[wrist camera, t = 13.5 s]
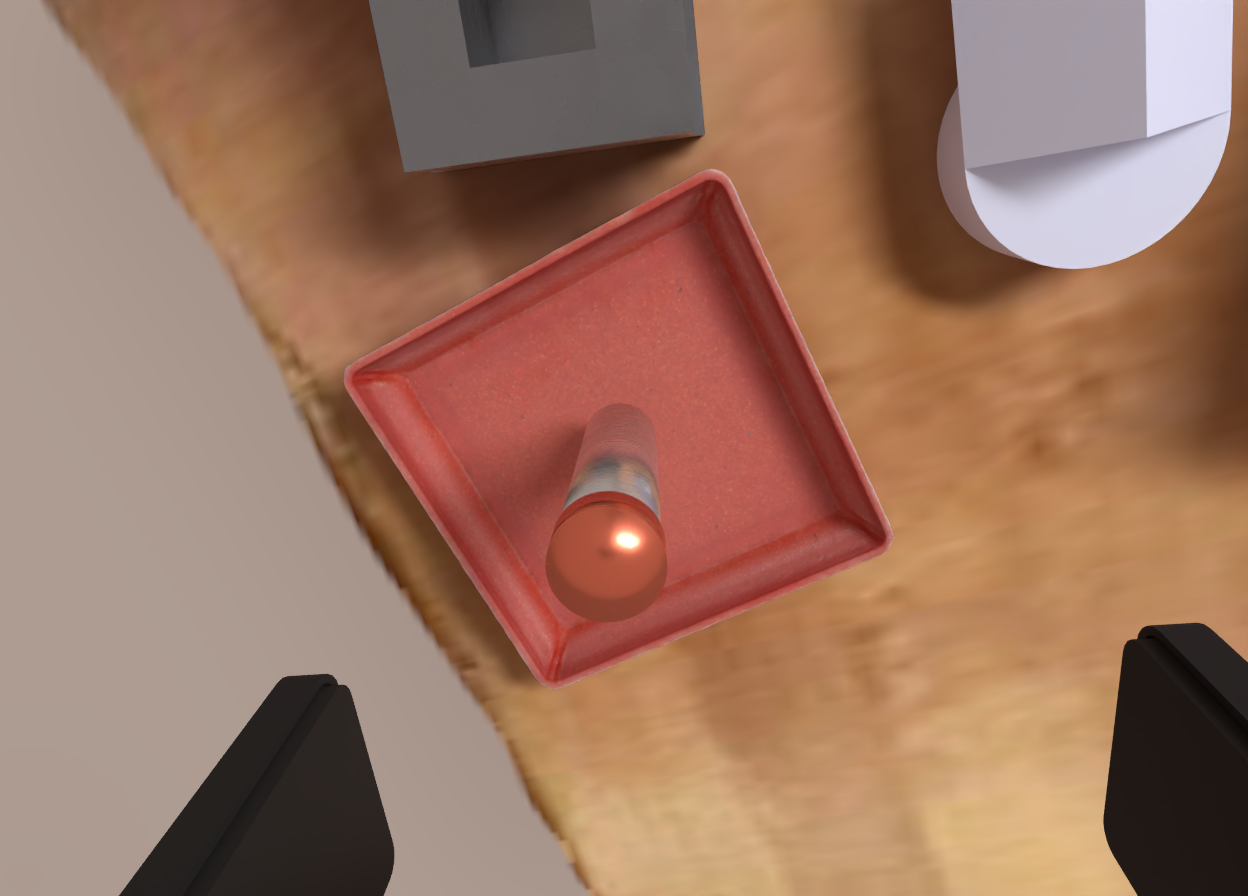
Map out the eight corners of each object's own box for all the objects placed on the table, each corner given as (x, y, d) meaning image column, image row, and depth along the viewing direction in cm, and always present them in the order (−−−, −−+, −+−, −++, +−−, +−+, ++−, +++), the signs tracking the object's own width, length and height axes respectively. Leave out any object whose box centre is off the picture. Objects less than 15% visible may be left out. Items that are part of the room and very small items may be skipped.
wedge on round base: (914, -70, 30) (947, 279, 34) (978, -132, 23) (1009, 306, 28) (1174, -138, 29) (1175, 232, 33) (1315, -223, 22) (1294, 249, 26)
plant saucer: (885, 517, 38) (903, 549, 35) (555, 658, 42) (545, 698, 39) (717, 158, 33) (721, 158, 30) (361, 354, 37) (332, 372, 34)
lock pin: (576, 406, 34) (536, 517, 21) (652, 396, 33) (658, 502, 21) (588, 478, 34) (555, 628, 22) (662, 469, 34) (674, 615, 21)
